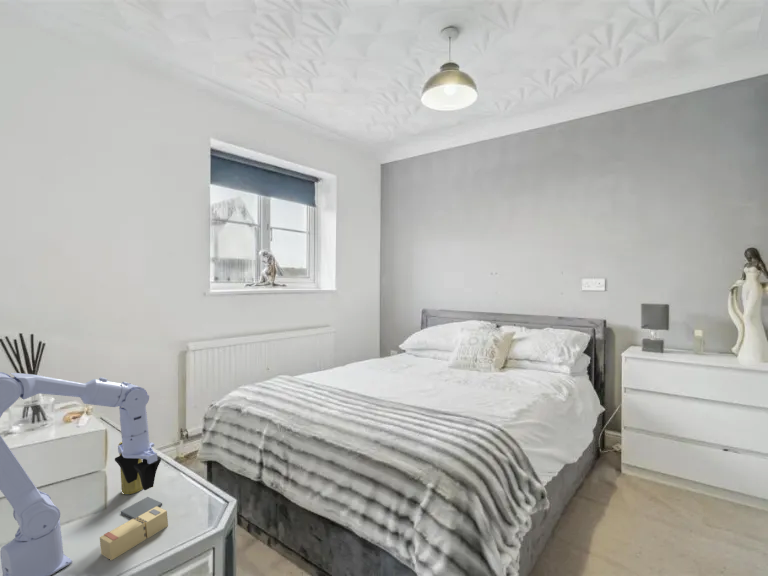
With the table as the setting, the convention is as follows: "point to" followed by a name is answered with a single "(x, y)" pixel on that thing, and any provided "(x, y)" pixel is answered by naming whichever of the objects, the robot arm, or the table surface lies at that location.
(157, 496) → the table surface
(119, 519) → the table surface
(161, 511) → the stub
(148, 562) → the table surface
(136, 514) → the coaster
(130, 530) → the cardboard shipping box
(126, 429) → the robot arm
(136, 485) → the vase
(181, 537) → the table surface
